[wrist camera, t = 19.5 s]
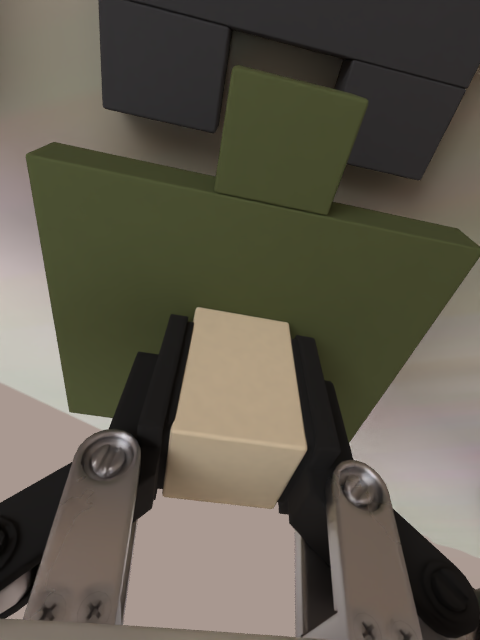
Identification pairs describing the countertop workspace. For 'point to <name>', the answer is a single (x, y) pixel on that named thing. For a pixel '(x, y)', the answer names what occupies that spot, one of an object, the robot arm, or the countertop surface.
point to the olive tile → (239, 282)
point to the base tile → (309, 33)
